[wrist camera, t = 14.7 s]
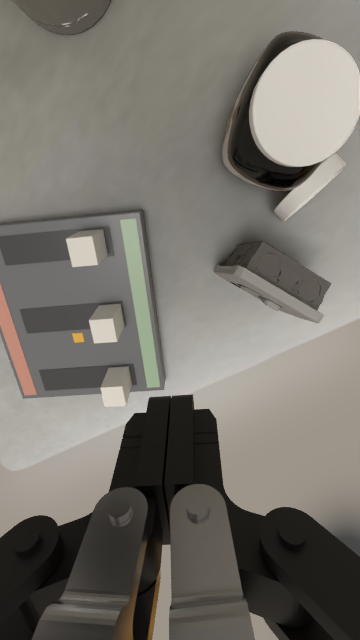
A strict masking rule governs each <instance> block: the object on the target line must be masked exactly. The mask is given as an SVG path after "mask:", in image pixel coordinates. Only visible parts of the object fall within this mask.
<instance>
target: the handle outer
mask: <svg viewBox="0 0 360 640" xmlns="http://www.w3.org/2000/svg"><path fill="white" fill-rule="evenodd" d="M131 386H132V383H131V377H130V372H129V366H126V367H111V368H108V370H107V373H106V375H105V378H104V380H103V383H102V385H101V387H100V388H101V392H102V397H103V401H104V405H105V407H112V406H126V404H127V400H128V397H129V393H130V389H131Z"/></svg>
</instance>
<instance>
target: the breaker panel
mask: <svg viewBox="0 0 360 640" xmlns="http://www.w3.org/2000/svg"><path fill="white" fill-rule="evenodd" d="M98 229H103V231H104V237H105V242H106V248H107V253H108V255H107V256H106V257H105V258H104V259H103V260H102V261H101V262H100V263H99V264H98V265H93V266H81V267H72V263H71V259H70V255H69V251H68V246H67V242H66V238H68V237H70V236H72V235H73V234H75V233H77V232H79V231H87V230H98ZM109 304H121V309H122V315H123V320H124V327H123V330H122V332H121V334H120V337H119V339H118V341H117V342H109V343H95V344H94V341H93V337H92V332H91V328H90V324H89V319H90V318H91V316H92V315H93V313H94V312H95V310H96V309H97V307H98V306H99V305H109ZM0 334H1V337H2V340H3V343H4V346H5V349H6V351H7V354H8V357H9V360H10V363H11V366H12V368H13V371H14V374H15V377H16V380H17V383H18V385H19V388H20V391H21V394H22V397H23V398H38V397H54V396H70V395H87V394H102V392H101V388H100V387H101V385H102V383H103V380H104V378H105V375H106V373H107V370H108V368H111V367H126V366H129V372H130V377H131V383H132V386H131V389H130V392H135V391H151V390H164V385H165V372H164V364H163V357H162V350H161V342H160V335H159V327H158V320H157V312H156V305H155V297H154V290H153V283H152V275H151V268H150V260H149V253H148V245H147V238H146V230H145V223H144V215H143V210H135V211H125V212H115V213H104V214H94V215H84V216H74V217H63V218H53V219H43V220H32V221H22V222H12V223H2V224H0Z"/></svg>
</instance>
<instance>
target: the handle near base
mask: <svg viewBox="0 0 360 640" xmlns="http://www.w3.org/2000/svg"><path fill="white" fill-rule="evenodd" d="M66 242H67V246H68V251H69V255H70V259H71V263H72V267H81V266H93V265H98V264H99V263H100V262H101V261H102V260H103V259H104V258H105V257H106V256H107V255H108V253H107V248H106V242H105V237H104V231H103V229H98V230H87V231H79V232H77V233H75V234H73V235H72V236H70V237H68V238H66Z"/></svg>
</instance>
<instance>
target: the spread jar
mask: <svg viewBox="0 0 360 640" xmlns="http://www.w3.org/2000/svg"><path fill="white" fill-rule="evenodd" d="M359 115H360V72H359V69H358V67H357V65H356V63H355V61H354V59H353V58H352V56H351V55H350V54H349V53H348V52H347V51H346V50H345V49H344V48H342V47H341V46H339V45H338V44H336V43H334V42H331V41H328V40H324V39H322V38H320V37H317V36H315V35H311V34H308V33H303V32H285V33H281V34H279V35H277V36H276V37H275V38H274V39H273V40H272V41H271V42H270V43H269V44H268V45H267V47H266V48H265V49H264V51H263V52H262V54H261V55H260V57H259V59H258V60H257V62H256V64H255V65H254V67H253V69H252V70H251V72H250V74H249V76H248V78H247V79H246V81H245V83H244V85H243V87H242V89H241V91H240V93H239V95H238V97H237V99H236V102H235V104H234V107H233V109H232V112H231V115H230V118H229V121H228V124H227V128H226V133H225V137H224V142H223V150H222V157H223V162H224V164H225V166H226V167H227V169H228V170H229V171H230V172H231V173H233V174H234V175H236V176H237V177H239V178H240V179H242V180H244V181H246V182H248V183H250V184H252V185H255V186H258V187H262V188H266V189H270V190H276V191H287V190H292V189H293V190H292V191H291V192H290V193H289V194H288V195H287V196H286V197H285V198H284V199H283V200H282V201H281V202H280V204H279V205H278V206H277V207H276V208H275V210H274V212H275V213H276V214H277V216H278V217H279V218H280V219H281V220H282V221H283V222H284V221H285V220H287V219H288V218H289V217H290V216H292V215H293V214H294V213H295V212H297V211H298V210H299V209H300V208H301V207H302V206H304V205H305V204H306V203H307V202H308V201H309V200H310V199H311V198H313V197H314V196H315V195H316V194H317V193H318V192H319V191H320V190H321V189H323V188H324V187H325V186H326V185H327V184H328V183H329V182H330V181H331V180H332V179H333V178H334V177H335V176H336V175H337V174H339V173H340V172H341V171H342V169H343V168H344V167H345V166H346V163H345V162H344V161H343V160H342V159H341V158H340V157H339V155H338V154H337V153H336V154H334V153H335V152H336V151H337V150H339V149H340V148H341V146H342V145H343V144H344V143H345V142H346V141H347V139H348V138H349V136H350V135H351V133H352V131H353V130H354V128H355V126H356V123H357V121H358V118H359ZM331 155H332V156H331ZM328 157H329V158H328ZM327 158H328V159H327ZM325 159H326V160H325ZM324 160H325V161H324ZM323 161H324V162H323ZM322 162H323V163H322ZM321 163H322V164H321Z"/></svg>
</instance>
